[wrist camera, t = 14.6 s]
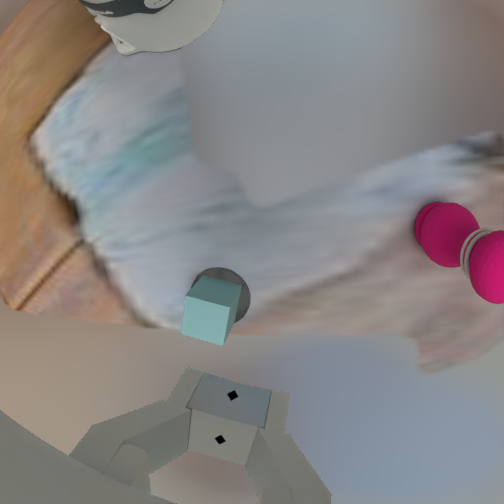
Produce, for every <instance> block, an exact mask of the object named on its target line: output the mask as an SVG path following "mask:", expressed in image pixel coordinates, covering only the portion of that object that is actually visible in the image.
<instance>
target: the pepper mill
mask: <svg viewBox="0 0 504 504" xmlns="http://www.w3.org/2000/svg"><path fill="white" fill-rule="evenodd" d="M415 235H416V238H417V240H418V242H419V244H420V245H421V246H422V247H423V249H424V251H425V253H426V254H427V256H428V257H429V258H430V259H431V260H432V261H434V262H435V263H437V264H439V265H441V266H444V267H454V268H455V267H460V266H461V268H462V271H463V273H464V274H465V276H466V277H467V278H469V279H470V281H471V284H472V286H473V288H474V289H475V291H476V292H477V294H478V295H479V296H480V297H482V298H483V299H485V300H486V301H488V302H491V303H495V304H503V303H504V231H503V230H500V231H493V230H491V229H488V228H481V229H480V227H479V225H478V222H477V220H476V219H475V217H474V216H473V215H472V213H471V212H470V211H469V210H467V209H466V208H464V207H463V206H461V205H459V204H456V203H441V202H434V203H430V204H428V205H427V206H425V207H424V208H423V209H422V210H421V211H420V212H419V214H418V216H417V218H416V221H415Z"/></svg>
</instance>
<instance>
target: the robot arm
mask: <svg viewBox="0 0 504 504" xmlns="http://www.w3.org/2000/svg"><path fill="white" fill-rule="evenodd" d="M79 2H81V3H82V4H83V5H85V7H87V10H88V11H89V12H90V13H91V14H92V15H94V16H96V15H97V16H96V17H95V19H94V20H95V21H96V22H97V23H98V24H99V25H101V28H102V29H103V30H104V31H106V32H107V33H109V34H110V36H111V38H112V40H113V42H114V44H115V46H116V48H117V50H118V52H119V53H121V54H122V55H131V54H134V53H137V52H140V51H151V52H165V51H171V50H175V49H178V48H181V47H183V46H185V45H187V44H189V43H191V42H193V41H194V40H196V39H197V38H199V37H200V36H201V35H202V34H204V33H205V32H206V31H207V30H208V29H209V28H210V27H211V25H212V24H213V23H214V22H215V20H216V19H217V17H218V15H219V13H220V11H221V8H222V5H223V0H79ZM122 42H123V43H122ZM288 403H289V393H286V392H281V391H276V390H270V389H265V388H261V387H257V386H252V385H248V384H244V383H240V382H236V381H233V380H229V379H226V378H223V377H219V376H216V375H212V374H209V373H206V372H202V371H199V370H196V369H193V368H190V367H188V368H187V369H186V370H185V371H184V373H183V374H182V376H181V378H180V379H179V381H178V383H177V384H176V386H175V388H174V390H173V391H172V393H171V395H170V396H169V398H168V400H167V401H164V400H160V401H157V402H154V403H152V404H149V405H147V406H144V407H142V408H139V409H137V410H134V411H131V412H128V413H126V414H123V415H120V416H118V417H115V418H112V419H109V420H107V421H104V422H101V423H98V424H95V425H92V426H91V428H90V429H89V430H88V432H87V433H86V434H85V435H84V437H83V438H82V439H81V441H80V442H79V443H78V444H77V446H76V447H75V449H73V451H72V452H71V453H70V455H69V456H68V455H67V454H65V453H63V452H62V451H60V450H58V449H56V448H55V447H53V446H51V445H50V444H48V443H47V442H45V441H44V440H42V439H40V438H39V437H37V436H36V435H34V434H33V433H31V432H30V431H28V430H27V429H25V428H24V427H22V426H21V425H20V424H18V423H17V422H16V421H14V420H13V419H11V418H10V417H9V416H7V415H6V414H5V413H3V412H2V411H1V410H0V504H177V503H174V502H171V501H168V500H165V499H162V498H159V497H157V496H154V495H151V489H150V478H149V474H151V473H153V472H154V471H156V470H158V469H159V468H161V467H163V466H164V465H166V464H168V463H169V462H171V461H172V460H174V459H176V458H177V457H179V456H180V455H182V454H183V453H185V452H187V450H190V451H193V452H197V453H201V454H205V455H208V456H212V457H216V458H219V459H223V460H226V461H230V462H233V463H237V464H241V465H245V468H246V471H247V473H248V476H249V478H250V480H251V483H252V485H253V488H254V490H255V492H256V494H257V497H258V501H257V503H256V504H331V493H330V491H329V490H328V488H327V487H326V486H325V484H324V483H323V481H322V480H321V479H320V477H319V476H318V474H317V473H316V472H315V470H314V469H313V467H312V466H311V464H310V463H309V462H308V460H307V459H306V457H305V456H304V454H303V453H302V452H301V450H300V448H299V447H298V446H297V444H296V443H295V441H294V439H293V438H292V437H291V435H290V434H286V433H285V427H286V420H287V412H288Z"/></svg>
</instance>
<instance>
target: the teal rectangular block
mask: <svg viewBox="0 0 504 504" xmlns="http://www.w3.org/2000/svg"><path fill="white" fill-rule="evenodd" d="M241 287H242V285H240V284H236V283H232V282H228V281H224V280H220V279H216V278H212V277H208V276H204V275H203V276H202V277H201V278H200V279H199V280H198V282H197V283H196V284H195V285H194V286H193V287H192V288H191V289H190V291H189V292H188V293H187V294H186V295H185V302H184V311H183V320H182V330H181V334H183V335H187V336H190V337H193V338H197V339H200V340H204V341H207V342H211V343H214V344H218V345H222V346H223V345H224V343H225V340H226V339H227V336H228V334H229V332H230V330H231V328H232V326H233V323H234V321H235V318H236V313H237V308H238V302H239V297H240V292H241Z"/></svg>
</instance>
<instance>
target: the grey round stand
mask: <svg viewBox="0 0 504 504" xmlns="http://www.w3.org/2000/svg"><path fill="white" fill-rule="evenodd" d="M203 275H204V276H208V277H212V278H216V279H220V280H224V281H228V282H232V283H236V284H240V285H242V287H241V292H240V297H239V302H238V308H237V313H236V318H235V321H234V323H235V322H237V321H239V320H240V319H241V318H243V316H244V315H245V314H246V312H247V310H248V308H249V305H250V292H249V289H248V287H247V285H246V283H245V282H244V280H243V279H242V278H241V277H240V276H239V275H237V274H236V273H234V272H233V271H230V270H228V269H224V268H211V269H208V270H206V271H204V272H202V273H201V274H200V275H199V276H198V277H197V278H196V279H195V280H194V282H193V284H192V287H193V286H194V285H195V284H196V283H197V282H198V280H199V279H200V278H201V277H202V276H203ZM192 287H191V288H192Z"/></svg>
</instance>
